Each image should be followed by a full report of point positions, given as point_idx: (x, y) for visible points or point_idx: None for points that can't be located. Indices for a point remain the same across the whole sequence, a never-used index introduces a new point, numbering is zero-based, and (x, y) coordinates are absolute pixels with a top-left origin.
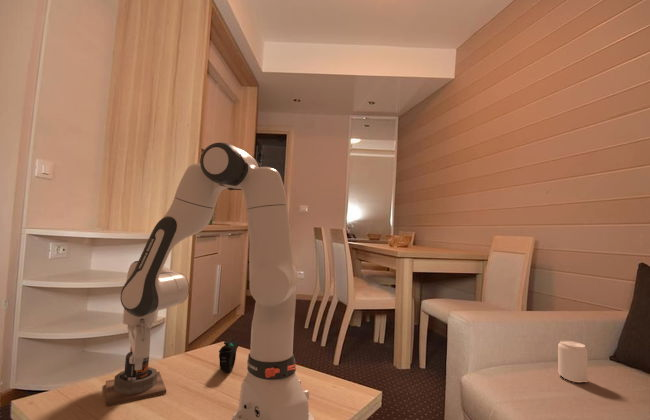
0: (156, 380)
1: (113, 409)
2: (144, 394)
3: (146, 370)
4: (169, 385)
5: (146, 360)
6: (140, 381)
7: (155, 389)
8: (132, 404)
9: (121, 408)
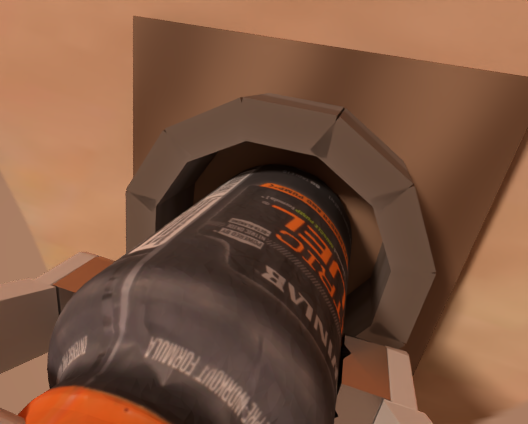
0: (347, 112)
1: (465, 379)
2: (474, 238)
3: (318, 232)
4: (394, 2)
5: (313, 309)
6: (426, 293)
7: (458, 152)
8: (493, 303)
9: (491, 355)
